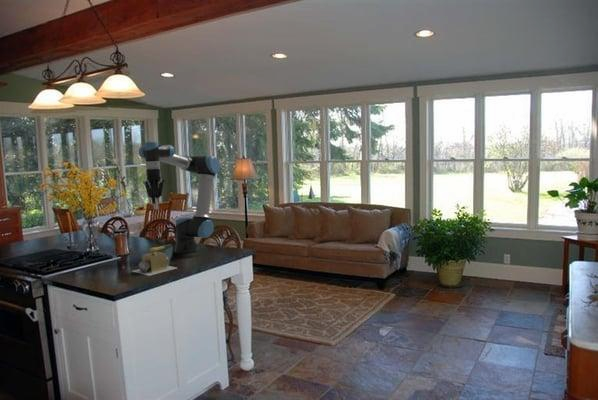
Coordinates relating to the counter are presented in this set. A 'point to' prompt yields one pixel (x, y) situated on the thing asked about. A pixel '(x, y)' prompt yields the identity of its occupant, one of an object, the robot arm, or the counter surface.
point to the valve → (154, 262)
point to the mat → (156, 271)
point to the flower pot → (167, 251)
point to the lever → (160, 248)
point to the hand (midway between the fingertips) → (156, 209)
